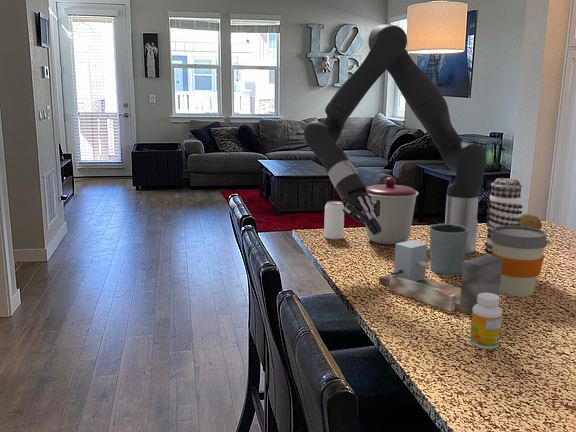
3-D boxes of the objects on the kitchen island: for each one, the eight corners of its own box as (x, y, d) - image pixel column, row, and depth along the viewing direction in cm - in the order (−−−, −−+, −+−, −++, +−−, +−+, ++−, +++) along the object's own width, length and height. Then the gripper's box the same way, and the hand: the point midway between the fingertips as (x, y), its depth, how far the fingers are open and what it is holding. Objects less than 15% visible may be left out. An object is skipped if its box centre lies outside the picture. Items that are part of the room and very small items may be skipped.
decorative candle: (475, 268, 156) (483, 179, 151) (489, 261, 162) (497, 175, 157) (508, 276, 150) (517, 183, 144) (521, 268, 156) (530, 179, 151)
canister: (375, 231, 197) (377, 172, 193) (424, 239, 187) (428, 176, 182) (349, 242, 183) (351, 178, 178) (401, 251, 172) (404, 183, 168)
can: (342, 240, 185) (343, 204, 182) (322, 239, 186) (323, 203, 184) (344, 235, 191) (345, 201, 189) (325, 234, 192) (326, 200, 190)
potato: (512, 234, 195) (514, 211, 193) (535, 235, 194) (537, 212, 192) (517, 239, 188) (519, 215, 187) (541, 240, 187) (543, 216, 186)
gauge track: (374, 284, 143) (375, 240, 140) (402, 276, 149) (404, 233, 147) (470, 318, 121) (474, 267, 119) (498, 307, 128) (502, 258, 125)
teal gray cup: (465, 267, 157) (469, 225, 155) (464, 277, 148) (468, 233, 146) (428, 263, 161) (431, 222, 158) (425, 273, 151) (427, 230, 149)
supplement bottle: (465, 338, 111) (469, 291, 109) (491, 337, 112) (495, 290, 110) (476, 350, 106) (480, 301, 104) (504, 349, 107) (508, 300, 105)
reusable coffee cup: (536, 302, 131) (543, 240, 127) (481, 292, 137) (486, 232, 134) (545, 287, 141) (551, 229, 138) (493, 278, 148) (498, 223, 144)
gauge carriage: (383, 281, 139) (385, 246, 137) (409, 273, 145) (411, 240, 143) (409, 290, 133) (411, 253, 131) (435, 282, 139) (437, 246, 137)
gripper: (336, 174, 148) (368, 228, 141) (371, 170, 156) (402, 221, 149) (322, 191, 153) (352, 244, 146) (356, 187, 161) (386, 237, 154)
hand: (377, 233), depth 148 cm, fingers closed
